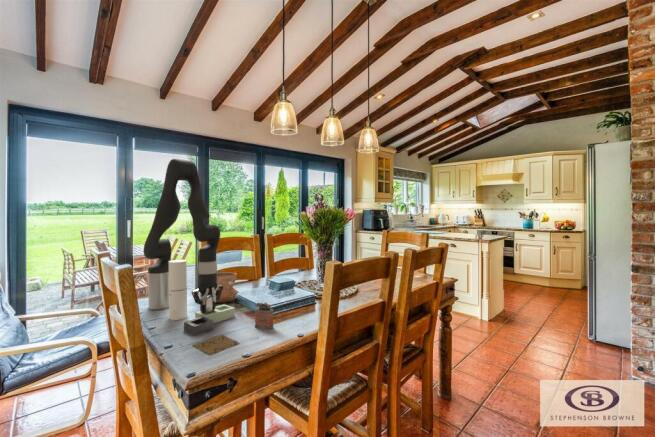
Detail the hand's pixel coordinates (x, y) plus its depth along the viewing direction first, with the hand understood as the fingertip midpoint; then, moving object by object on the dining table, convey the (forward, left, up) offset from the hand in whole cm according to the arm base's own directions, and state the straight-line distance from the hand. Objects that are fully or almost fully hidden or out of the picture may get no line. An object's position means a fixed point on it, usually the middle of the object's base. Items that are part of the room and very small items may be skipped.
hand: (208, 311), depth 132 cm
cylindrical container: (-15, -6, -4) cm, 17 cm away
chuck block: (+6, -8, -4) cm, 10 cm away
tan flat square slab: (+23, -11, -5) cm, 26 cm away
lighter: (+24, +10, -4) cm, 27 cm away
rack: (0, +3, -4) cm, 5 cm away
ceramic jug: (-21, +21, -4) cm, 30 cm away
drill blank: (0, 0, -3) cm, 3 cm away
